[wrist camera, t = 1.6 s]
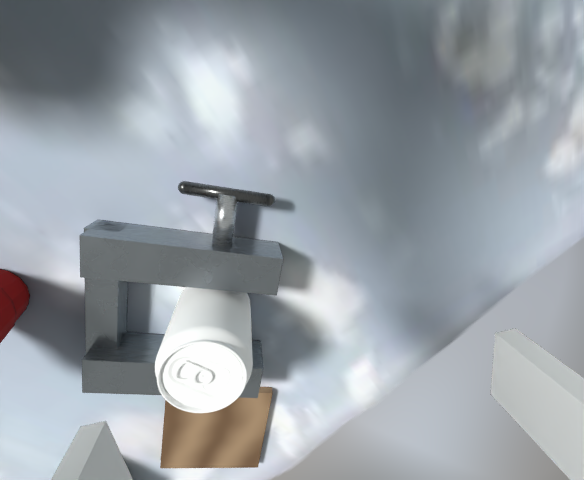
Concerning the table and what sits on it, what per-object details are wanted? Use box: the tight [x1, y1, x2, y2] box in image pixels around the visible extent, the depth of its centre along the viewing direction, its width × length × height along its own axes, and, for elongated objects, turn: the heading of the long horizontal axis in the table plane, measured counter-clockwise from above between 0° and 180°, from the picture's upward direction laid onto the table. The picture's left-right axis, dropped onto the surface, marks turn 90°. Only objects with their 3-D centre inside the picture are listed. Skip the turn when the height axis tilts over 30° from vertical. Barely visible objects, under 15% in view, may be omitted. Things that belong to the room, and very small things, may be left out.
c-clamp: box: [80, 181, 283, 398], centre depth 34 cm, size 18×23×5 cm
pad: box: [160, 387, 272, 468], centre depth 43 cm, size 13×13×1 cm
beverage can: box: [155, 287, 253, 413], centre depth 32 cm, size 8×8×12 cm
